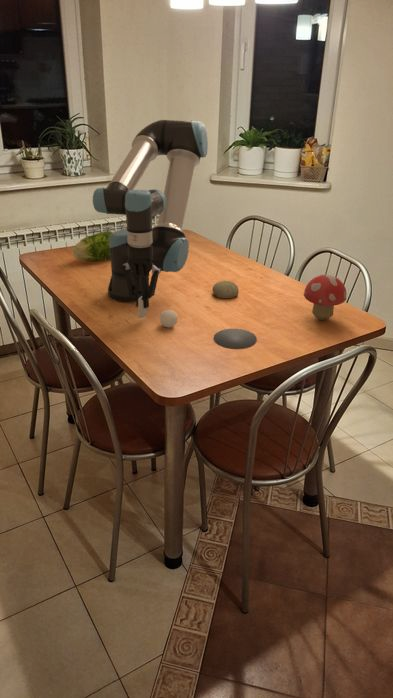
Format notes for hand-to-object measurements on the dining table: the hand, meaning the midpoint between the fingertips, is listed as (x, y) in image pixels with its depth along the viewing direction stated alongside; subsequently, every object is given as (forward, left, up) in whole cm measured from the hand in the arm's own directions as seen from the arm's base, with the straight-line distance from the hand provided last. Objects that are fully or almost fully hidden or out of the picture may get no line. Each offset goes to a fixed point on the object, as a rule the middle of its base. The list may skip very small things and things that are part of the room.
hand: (142, 316), depth 168 cm
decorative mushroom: (+53, +24, -2) cm, 58 cm away
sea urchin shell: (+17, +32, -3) cm, 37 cm away
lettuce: (-45, +47, -2) cm, 66 cm away
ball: (+9, 0, +1) cm, 9 cm away
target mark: (+31, 0, -2) cm, 31 cm away
